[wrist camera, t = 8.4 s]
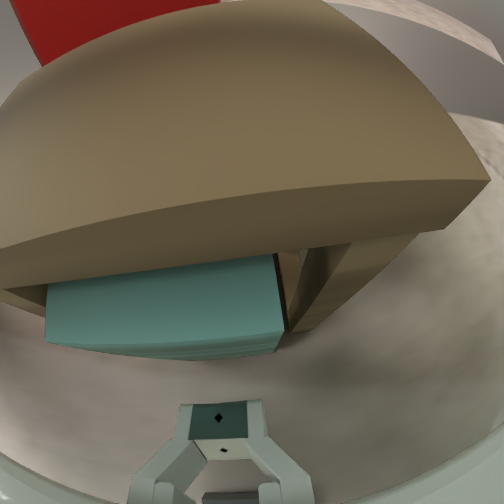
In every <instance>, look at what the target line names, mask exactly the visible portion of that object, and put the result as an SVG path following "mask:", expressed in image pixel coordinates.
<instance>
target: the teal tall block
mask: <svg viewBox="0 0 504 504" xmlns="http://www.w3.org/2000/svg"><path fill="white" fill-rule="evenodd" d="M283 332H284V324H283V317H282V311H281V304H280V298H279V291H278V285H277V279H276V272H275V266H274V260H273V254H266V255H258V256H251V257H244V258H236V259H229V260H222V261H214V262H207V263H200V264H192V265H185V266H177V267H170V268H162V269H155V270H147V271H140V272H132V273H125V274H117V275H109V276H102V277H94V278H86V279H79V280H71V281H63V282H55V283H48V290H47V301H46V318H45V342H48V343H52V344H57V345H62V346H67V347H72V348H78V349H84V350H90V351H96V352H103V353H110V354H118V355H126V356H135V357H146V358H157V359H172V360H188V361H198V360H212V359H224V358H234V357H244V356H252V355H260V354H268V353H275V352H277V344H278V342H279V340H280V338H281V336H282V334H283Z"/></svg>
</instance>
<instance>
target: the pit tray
mask: <svg viewBox="0 0 504 504" xmlns="http://www.w3.org/2000/svg"><path fill="white" fill-rule="evenodd" d="M202 503H203V504H259V492H246V493H205V494H204V496H203V498H202Z"/></svg>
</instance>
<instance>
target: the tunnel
mask: <svg viewBox="0 0 504 504" xmlns="http://www.w3.org/2000/svg"><path fill="white" fill-rule="evenodd" d="M490 181H491V179H490V177H489V175H488V173H487V171H486V170H485V168H484V166H483V164H482V163H481V161H480V159H479V158H478V156H477V154H476V153H475V151H474V150H473V148H472V147H471V145H470V144H469V142H468V141H467V139H466V138H465V136H464V135H463V133H462V132H461V130H460V129H459V128H458V126H457V125H456V123H455V122H454V121H453V119H452V118H451V117H450V115H449V114H448V113H447V112H446V110H445V109H444V108H443V107H442V106H441V104H440V103H439V102H438V101H437V99H436V98H435V97H434V96H433V95H432V93H431V92H430V91H429V90H428V89H427V88H426V87H425V86H424V85H423V83H422V82H421V81H420V80H419V79H418V78H417V77H416V76H415V75H414V74H413V73H412V72H411V71H410V70H409V69H408V68H407V67H406V66H405V65H404V64H403V63H402V62H401V61H400V60H399V59H398V58H397V57H396V56H395V55H394V54H392V53H391V52H390V51H389V50H388V49H387V48H386V47H384V46H383V45H382V44H381V43H380V42H379V41H378V40H376V39H375V38H374V37H373V36H371V35H370V34H369V33H367V32H366V31H365V30H364V29H363V28H361V27H360V26H359V25H357V24H356V23H355V22H353V21H352V20H350V19H349V18H348V17H346V16H345V15H343V14H342V13H340V12H339V11H338V10H336V9H334V8H333V7H331V6H330V5H328V4H327V3H325V2H323V1H322V0H242V1H232V2H224V3H217V4H210V5H204V6H199V7H194V8H189V9H184V10H180V11H175V12H171V13H167V14H164V15H160V16H157V17H153V18H150V19H146V20H143V21H140V22H137V23H134V24H131V25H129V26H126V27H123V28H120V29H118V30H115V31H113V32H110V33H108V34H105V35H103V36H101V37H98V38H96V39H94V40H92V41H90V42H87V43H85V44H83V45H81V46H79V47H77V48H75V49H73V50H71V51H69V52H68V53H66V54H64V55H62V56H60V57H59V58H57V59H55V60H53V61H52V62H50V63H48V64H47V65H45V66H43V67H42V68H40V69H39V70H37V71H36V72H34V73H33V74H31V75H30V76H28V77H27V78H25V79H24V80H22V81H21V82H20V83H19V84H18V85H17V87H16V88H15V89H14V90H13V92H12V93H11V94H10V96H9V97H8V98H7V99H6V101H5V102H4V103H3V105H2V106H1V107H0V301H3V302H5V303H8V304H10V305H13V306H15V307H18V308H20V309H23V310H26V311H28V312H31V313H34V314H37V315H40V316H42V317H45V318H46V301H47V290H48V283H55V282H63V281H71V280H79V279H86V278H94V277H102V276H109V275H117V274H125V273H132V272H140V271H147V270H155V269H162V268H170V267H177V266H185V265H192V264H200V263H207V262H214V261H222V260H229V259H236V258H244V257H251V256H258V255H266V254H273V253H277V257H278V263H279V269H280V275H281V281H282V287H283V293H284V299H285V306H286V312H287V318H288V325H289V332H290V334H293V333H299V332H305V331H310V330H312V329H313V328H314V327H315V326H317V325H318V324H319V323H320V322H322V321H323V320H324V319H326V318H327V317H328V316H329V315H330V314H332V313H333V312H334V311H335V310H337V309H338V308H339V307H340V306H341V305H343V304H344V303H345V302H346V301H347V300H349V299H350V298H351V297H352V296H353V295H354V294H356V293H357V292H358V291H359V290H360V289H361V288H362V287H364V286H365V285H366V284H367V283H368V282H369V281H370V280H371V279H373V278H374V277H375V276H376V275H377V274H378V273H379V272H380V271H381V270H382V269H383V268H384V267H386V266H387V265H388V264H389V263H390V262H391V261H392V260H393V259H394V258H395V257H396V256H397V255H398V254H399V253H400V252H401V251H402V250H403V249H404V248H405V247H406V246H407V245H408V244H409V243H410V242H411V241H412V240H413V239H414V238H415V237H416V236H417V235H418V234H419V233H421V232H428V231H435V230H441V229H445V228H446V227H447V226H448V225H449V224H450V223H451V222H452V221H453V220H454V219H455V218H456V217H457V216H458V215H459V214H460V213H461V212H462V211H463V210H464V209H465V208H466V207H467V206H468V205H469V204H470V203H471V202H472V201H473V200H474V198H475V197H476V196H477V195H478V194H479V193H480V192H481V191H482V190H483V189H484V188H485V186H486V185H487V184H488V183H489V182H490ZM302 249H309V250H308V253H307V256H306V259H305V262H304V265H303V268H302V266H301V261H300V256H299V251H298V250H302Z"/></svg>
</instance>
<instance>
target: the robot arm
mask: <svg viewBox="0 0 504 504" xmlns="http://www.w3.org/2000/svg"><path fill="white" fill-rule="evenodd" d="M233 459H252V460H253V462H254V463H255V464H256V465H257V466H258V468H259V469H260V470H261V471H262V472H263V474H264V475H265V476H266V477H267V478H268V479H269V481H270V483H262V484H261V485H260V486H259V487H258V488H259V504H315V499H314V494H313V488H312V483H311V478H310V475H309V474H307V473H306V472H305V471H304V470H303V469H302V468H301V467H300V466H299V465H298V464H297V463H296V462H295V461H294V460H293V459H291V458H290V457H289V456H288V455H287V454H286V453H285V452H284V451H283V450H282V449H281V448H280V447H279V446H278V445H277V444H276V443H275V442H274V441H273V440H272V438H271V437H270V436H268V432H267V424H266V418H265V412H264V407H263V402H262V399H258V400H250V401H247V400H246V401H237V402H226V403H218V404H181V406H180V407H179V412H178V417H177V423H176V429H175V435H174V440H169V441H168V442H167V443H166V444H165V445H164V446H163V447H162V448H161V449H160V450H159V451H158V452H157V453H156V454H155V455H154V456H153V457H152V458H151V459H150V460H149V461H148V462H147V463H146V464H145V465H144V466H143V467H142V468H141V469H140V470H139V471H138V472H136V473H135V474H134V475H133V476H132V480H131V485H130V490H129V495H128V500H127V504H196V502H195V501H194V500H192V499H191V498H190V497H188V496H187V495H186V494H184V492H185V491H186V490H187V488H188V487H189V486H190V484H191V483H192V482H193V480H194V479H195V478H196V476H197V475H198V474H199V472H200V471H201V470H202V468H203V467H204V466H205V464H206V463H207V460H233ZM0 504H118V503H114V502H111V501H107V500H104V499H101V498H97V497H94V496H91V495H88V494H86V493H83V492H80V491H77V490H75V489H72V488H70V487H67V486H65V485H62V484H60V483H58V482H55V481H53V480H51V479H49V478H47V477H44V476H42V475H40V474H38V473H36V472H34V471H32V470H31V469H29V468H27V467H25V466H23V465H21V464H20V463H18V462H16V461H14V460H13V459H11V458H9V457H8V456H6V455H5V454H3V453H1V452H0ZM341 504H504V422H503V423H502V424H501V425H499V426H498V427H497V428H496V429H494V430H493V431H492V432H490V433H489V434H488V435H486V436H485V437H483V438H482V439H481V440H479V441H478V442H476V443H475V444H473V445H472V446H470V447H469V448H467V449H466V450H464V451H462V452H461V453H459V454H458V455H456V456H454V457H452V458H451V459H449V460H447V461H446V462H444V463H442V464H440V465H438V466H436V467H434V468H433V469H431V470H429V471H427V472H425V473H423V474H421V475H418V476H416V477H414V478H412V479H410V480H407V481H405V482H403V483H400V484H398V485H396V486H393V487H390V488H388V489H385V490H383V491H380V492H377V493H374V494H371V495H368V496H365V497H362V498H359V499H355V500H352V501H348V502H345V503H341Z"/></svg>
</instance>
